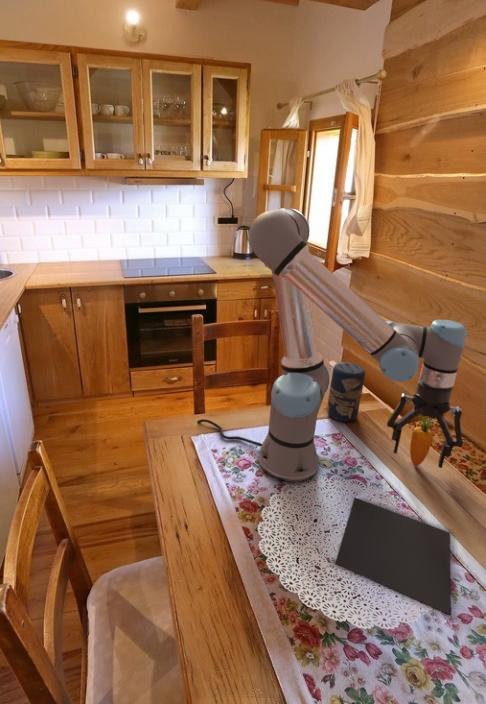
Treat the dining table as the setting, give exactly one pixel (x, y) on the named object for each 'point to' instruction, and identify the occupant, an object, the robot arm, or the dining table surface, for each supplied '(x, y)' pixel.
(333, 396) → the canister
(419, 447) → the carrot
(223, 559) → the dining table surface
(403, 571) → the mat
